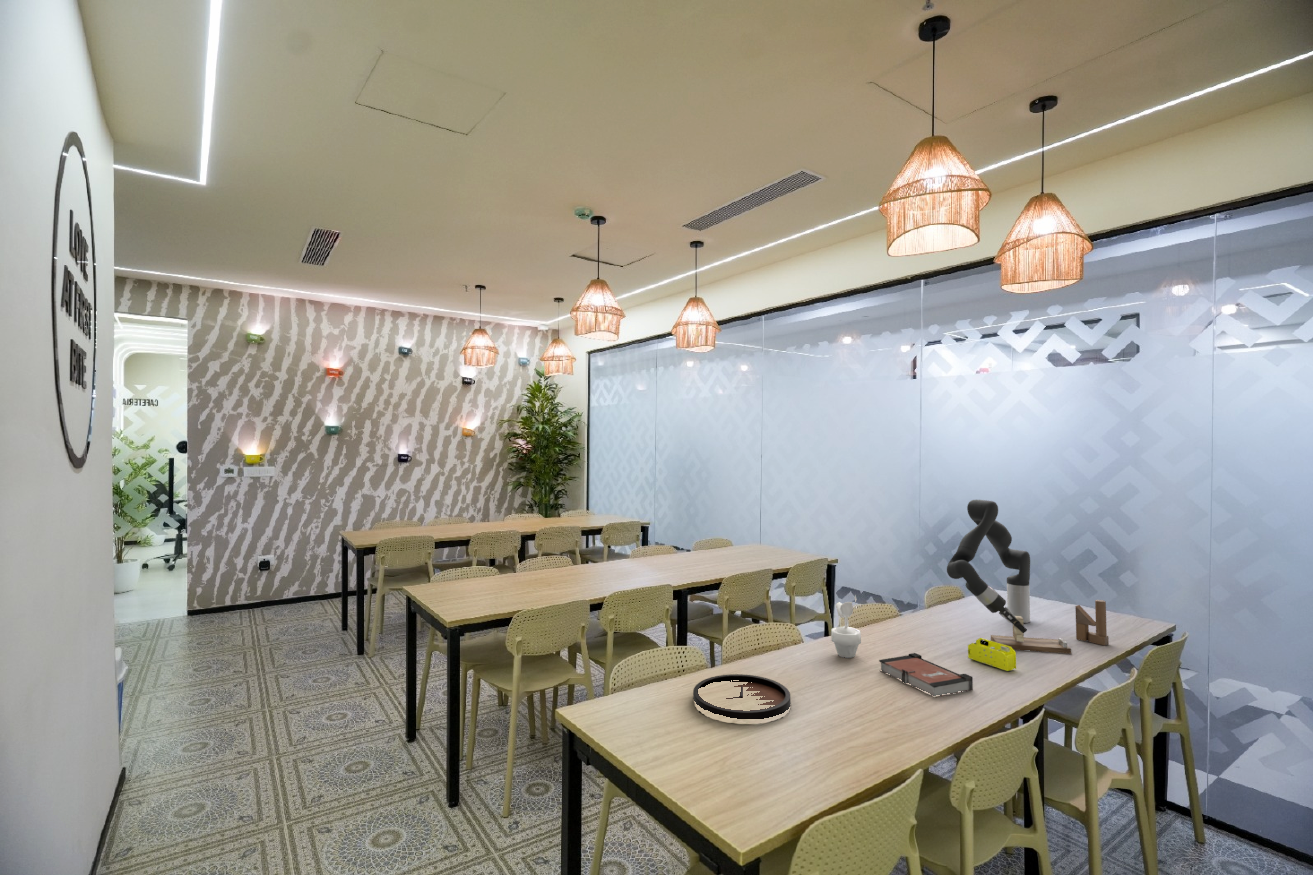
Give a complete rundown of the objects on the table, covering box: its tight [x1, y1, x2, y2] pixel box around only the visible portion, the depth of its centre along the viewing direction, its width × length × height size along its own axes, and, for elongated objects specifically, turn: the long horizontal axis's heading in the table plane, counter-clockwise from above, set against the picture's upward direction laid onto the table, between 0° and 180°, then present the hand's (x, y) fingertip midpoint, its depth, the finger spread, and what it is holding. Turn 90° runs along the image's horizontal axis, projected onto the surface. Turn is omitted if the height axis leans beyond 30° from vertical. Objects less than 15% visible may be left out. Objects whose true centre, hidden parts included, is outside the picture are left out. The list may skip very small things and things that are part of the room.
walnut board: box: [990, 634, 1072, 655], centre depth 251 cm, size 12×26×4 cm, turn 74°
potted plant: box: [830, 594, 862, 659], centre depth 243 cm, size 13×12×25 cm
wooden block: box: [1074, 599, 1110, 646], centre depth 256 cm, size 4×11×18 cm, turn 33°
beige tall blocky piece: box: [1012, 616, 1025, 642], centre depth 250 cm, size 7×3×9 cm, turn 164°
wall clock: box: [692, 673, 792, 719], centre depth 198 cm, size 31×4×31 cm
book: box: [878, 652, 974, 697], centre depth 216 cm, size 26×18×5 cm
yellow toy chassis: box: [967, 637, 1017, 672], centre depth 230 cm, size 16×6×8 cm, turn 26°
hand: (1023, 629), depth 250 cm, fingers closed on beige tall blocky piece, 3 cm apart
